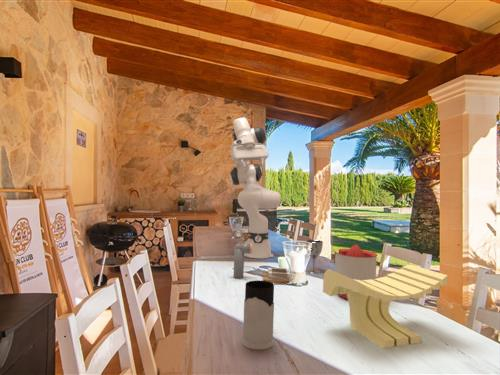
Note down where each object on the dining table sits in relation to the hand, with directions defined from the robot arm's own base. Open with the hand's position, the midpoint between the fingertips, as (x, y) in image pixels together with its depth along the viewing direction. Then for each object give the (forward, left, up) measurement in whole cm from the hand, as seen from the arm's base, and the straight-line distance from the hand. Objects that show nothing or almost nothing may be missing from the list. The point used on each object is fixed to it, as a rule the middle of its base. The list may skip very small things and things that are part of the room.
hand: (253, 166), depth 172 cm
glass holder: (+82, +6, -51) cm, 97 cm away
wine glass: (+7, +32, -51) cm, 61 cm away
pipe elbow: (+24, -3, -51) cm, 56 cm away
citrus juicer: (+43, +41, -51) cm, 78 cm away
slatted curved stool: (+75, +41, -51) cm, 99 cm away
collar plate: (+25, +14, -51) cm, 58 cm away
